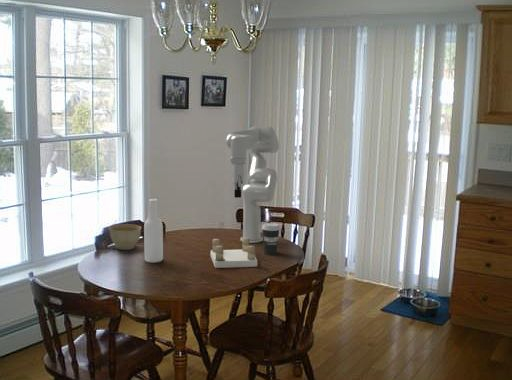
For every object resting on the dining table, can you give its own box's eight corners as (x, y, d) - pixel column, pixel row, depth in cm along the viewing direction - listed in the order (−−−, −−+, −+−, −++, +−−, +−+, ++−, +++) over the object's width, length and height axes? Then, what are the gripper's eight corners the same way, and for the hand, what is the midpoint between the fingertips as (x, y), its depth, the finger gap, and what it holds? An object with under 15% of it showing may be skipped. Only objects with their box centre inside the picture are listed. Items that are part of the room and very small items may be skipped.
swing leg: (214, 254, 285) (214, 242, 284) (221, 254, 285) (221, 241, 284) (216, 260, 275) (216, 247, 274) (223, 260, 275) (223, 247, 274)
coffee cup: (257, 254, 300) (258, 225, 297) (266, 249, 308) (266, 221, 305) (274, 256, 295) (275, 227, 293) (282, 252, 304) (283, 223, 301)
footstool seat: (210, 256, 294) (210, 249, 293) (249, 254, 298) (250, 248, 297) (215, 267, 274) (215, 261, 274) (257, 266, 278) (257, 259, 278)
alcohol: (161, 257, 290) (161, 197, 285) (164, 262, 282) (163, 200, 277) (143, 258, 288) (142, 198, 283) (145, 263, 279) (145, 201, 274)
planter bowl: (137, 252, 298) (137, 231, 297) (106, 251, 299) (105, 230, 297) (144, 244, 314) (144, 224, 313) (114, 243, 315) (113, 223, 313)
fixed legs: (212, 250, 293) (212, 238, 292) (248, 249, 296) (249, 237, 295) (216, 261, 275) (216, 248, 274) (255, 259, 278) (255, 247, 277)
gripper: (228, 159, 299) (228, 194, 302) (233, 162, 285) (232, 200, 288) (243, 159, 300) (242, 194, 303) (248, 162, 286) (247, 199, 289)
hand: (237, 197), depth 296 cm, fingers closed
